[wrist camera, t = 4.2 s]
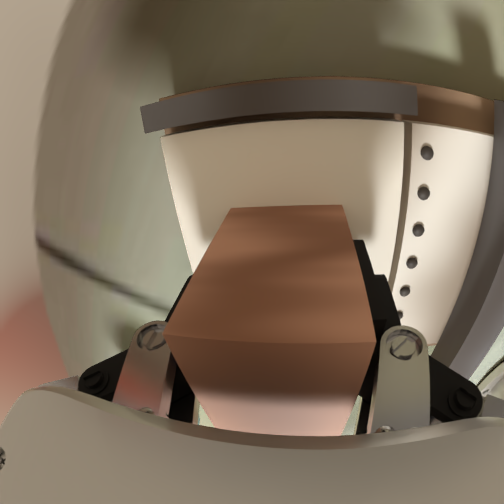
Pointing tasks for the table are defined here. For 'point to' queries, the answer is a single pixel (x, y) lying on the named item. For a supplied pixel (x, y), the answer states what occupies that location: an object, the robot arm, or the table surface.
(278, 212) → the block on cream tray
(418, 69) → the table surface
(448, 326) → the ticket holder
